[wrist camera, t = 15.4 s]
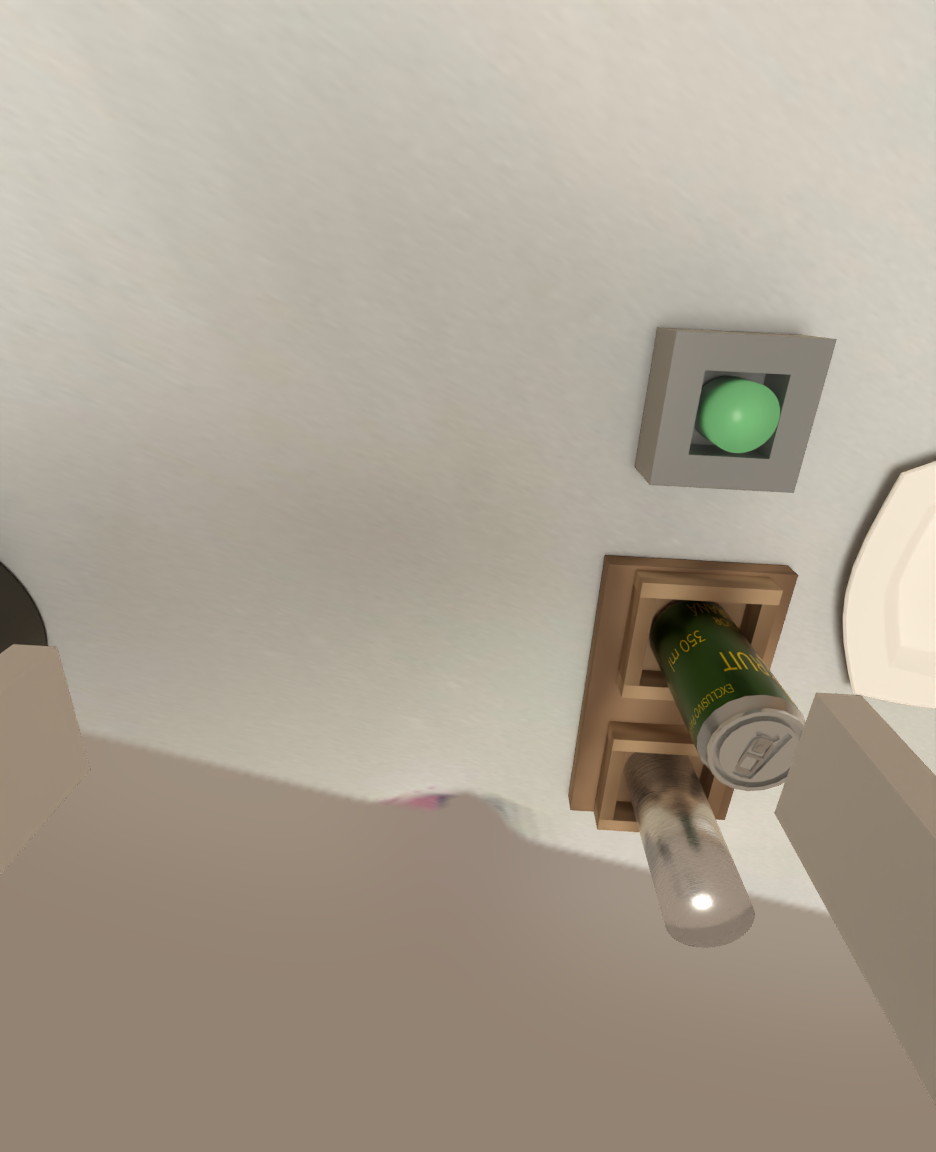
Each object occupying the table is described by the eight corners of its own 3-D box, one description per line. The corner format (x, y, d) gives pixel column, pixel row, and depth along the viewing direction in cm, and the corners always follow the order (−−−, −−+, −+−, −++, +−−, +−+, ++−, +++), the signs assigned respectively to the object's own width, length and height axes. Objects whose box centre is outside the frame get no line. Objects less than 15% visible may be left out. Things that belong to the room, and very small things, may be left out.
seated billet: (619, 793, 47) (657, 944, 36) (629, 741, 45) (673, 885, 34) (684, 797, 47) (743, 950, 36) (698, 746, 44) (764, 891, 34)
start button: (685, 439, 35) (701, 451, 32) (698, 373, 34) (716, 380, 31) (748, 442, 35) (770, 455, 32) (764, 377, 33) (788, 384, 31)
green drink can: (703, 674, 42) (777, 806, 31) (633, 650, 41) (682, 776, 30) (744, 609, 40) (839, 727, 29) (670, 583, 39) (738, 693, 28)
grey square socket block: (634, 466, 38) (649, 484, 34) (657, 327, 34) (676, 330, 31) (764, 473, 38) (793, 492, 34) (800, 334, 34) (836, 339, 31)
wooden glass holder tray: (568, 795, 49) (573, 830, 46) (604, 555, 40) (614, 577, 37) (718, 805, 49) (733, 840, 46) (787, 565, 40) (813, 588, 37)
